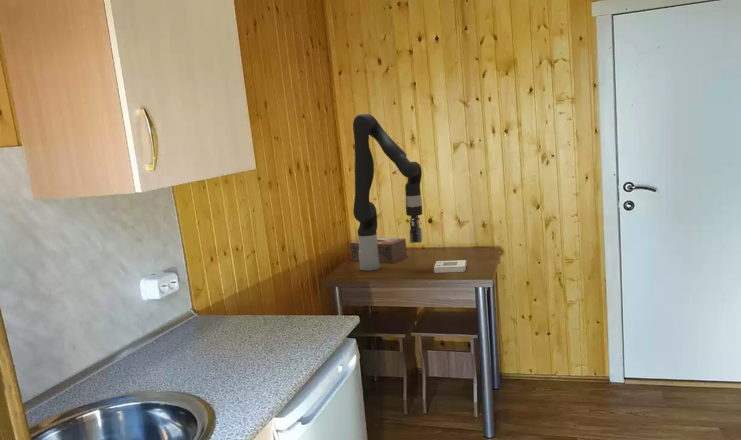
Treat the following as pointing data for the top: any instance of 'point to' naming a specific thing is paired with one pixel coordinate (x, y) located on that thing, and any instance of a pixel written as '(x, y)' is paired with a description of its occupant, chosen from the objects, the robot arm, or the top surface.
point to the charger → (417, 235)
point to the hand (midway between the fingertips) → (416, 240)
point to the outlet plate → (450, 266)
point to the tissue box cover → (384, 250)
